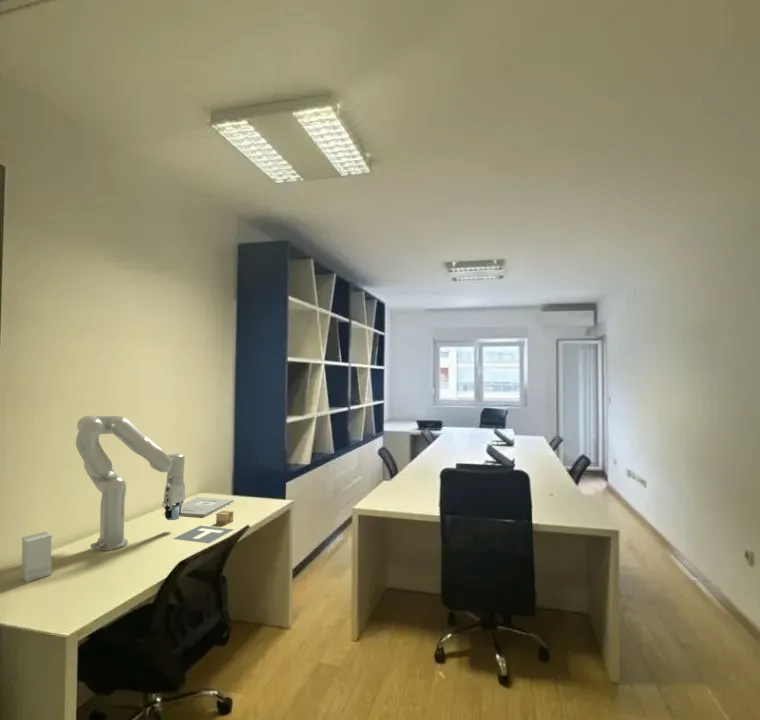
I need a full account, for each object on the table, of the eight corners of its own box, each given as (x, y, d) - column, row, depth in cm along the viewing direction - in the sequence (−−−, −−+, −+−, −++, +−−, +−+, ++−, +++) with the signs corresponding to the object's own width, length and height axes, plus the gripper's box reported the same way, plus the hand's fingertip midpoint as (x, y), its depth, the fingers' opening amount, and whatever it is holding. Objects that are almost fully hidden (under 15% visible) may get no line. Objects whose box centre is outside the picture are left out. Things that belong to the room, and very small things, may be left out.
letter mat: (208, 544, 215) (208, 543, 215) (172, 540, 221) (172, 538, 221) (234, 530, 235) (234, 529, 235) (200, 526, 240) (200, 525, 240)
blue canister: (173, 520, 229) (174, 508, 229) (163, 519, 230) (164, 506, 230) (181, 517, 234) (182, 505, 234) (172, 516, 236) (172, 504, 236)
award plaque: (164, 515, 261) (164, 511, 261) (197, 500, 290) (197, 497, 290) (204, 518, 255) (204, 514, 256) (233, 503, 285) (233, 499, 285)
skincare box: (46, 570, 187) (47, 531, 187) (52, 575, 183) (52, 534, 183) (20, 577, 180) (21, 536, 181) (25, 582, 176) (26, 540, 176)
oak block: (226, 526, 241) (226, 514, 242) (216, 525, 243) (216, 513, 243) (233, 522, 247) (233, 511, 247) (223, 521, 249) (223, 510, 249)
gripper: (169, 483, 224) (166, 522, 223) (193, 477, 240) (190, 513, 239) (156, 481, 226) (153, 520, 225) (180, 475, 242) (178, 511, 241)
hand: (172, 516), depth 232 cm, fingers closed on blue canister, 5 cm apart
